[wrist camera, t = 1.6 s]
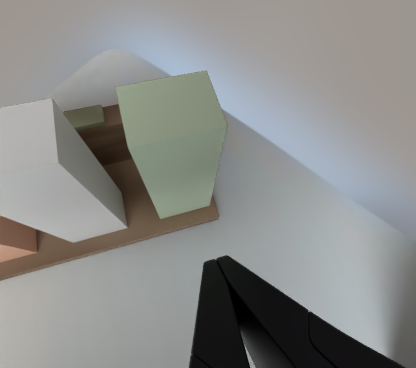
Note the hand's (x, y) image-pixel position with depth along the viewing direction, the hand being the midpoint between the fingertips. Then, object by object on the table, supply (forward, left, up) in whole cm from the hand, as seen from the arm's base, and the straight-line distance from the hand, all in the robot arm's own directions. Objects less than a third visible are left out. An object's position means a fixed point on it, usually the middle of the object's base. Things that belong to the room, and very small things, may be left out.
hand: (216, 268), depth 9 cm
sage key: (+7, 0, -10) cm, 12 cm away
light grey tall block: (+7, +6, -10) cm, 14 cm away
